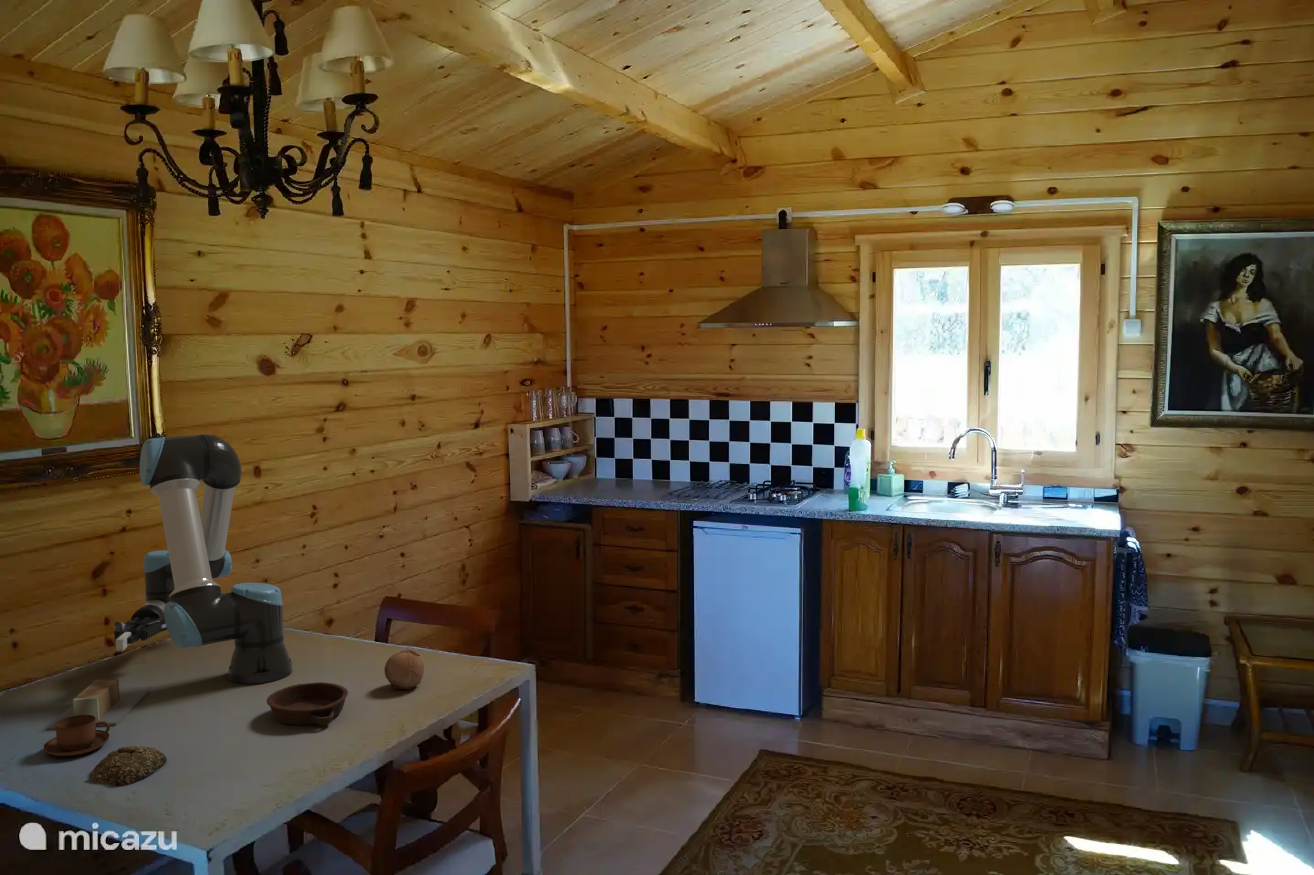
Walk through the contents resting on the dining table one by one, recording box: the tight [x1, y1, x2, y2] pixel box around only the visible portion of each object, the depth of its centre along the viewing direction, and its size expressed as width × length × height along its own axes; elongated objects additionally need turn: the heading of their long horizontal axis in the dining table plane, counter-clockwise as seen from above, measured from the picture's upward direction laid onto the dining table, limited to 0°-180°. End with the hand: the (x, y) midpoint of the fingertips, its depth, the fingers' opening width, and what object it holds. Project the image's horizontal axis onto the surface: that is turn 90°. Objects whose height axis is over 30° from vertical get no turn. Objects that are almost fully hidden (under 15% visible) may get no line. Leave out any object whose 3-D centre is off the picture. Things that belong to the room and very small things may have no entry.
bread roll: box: [91, 745, 168, 787], centre depth 203 cm, size 13×12×5 cm
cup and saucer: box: [43, 715, 111, 757], centre depth 214 cm, size 12×12×6 cm
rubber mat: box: [47, 685, 153, 730], centre depth 237 cm, size 14×24×1 cm, turn 9°
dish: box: [266, 681, 349, 726], centre depth 232 cm, size 18×22×5 cm
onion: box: [384, 648, 425, 691], centre depth 250 cm, size 10×9×10 cm
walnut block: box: [72, 678, 120, 720], centre depth 234 cm, size 5×5×13 cm
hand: (119, 645), depth 248 cm, fingers closed
